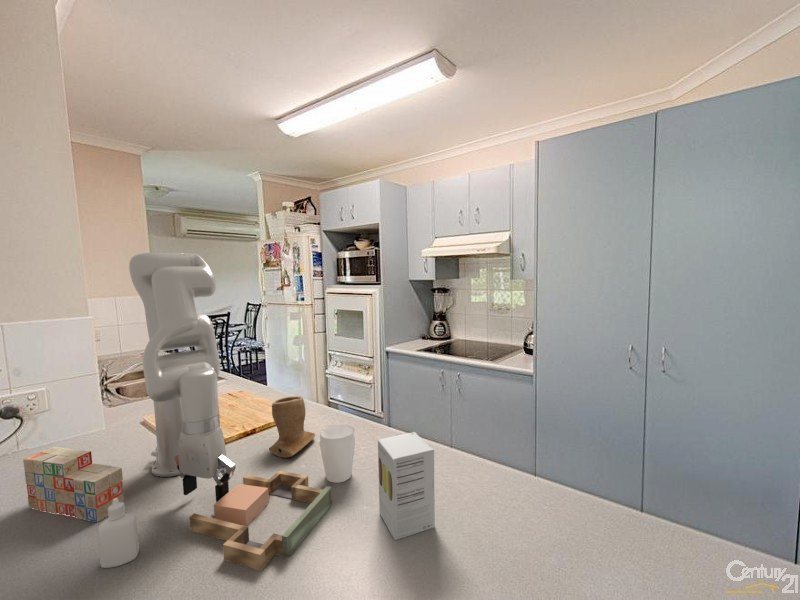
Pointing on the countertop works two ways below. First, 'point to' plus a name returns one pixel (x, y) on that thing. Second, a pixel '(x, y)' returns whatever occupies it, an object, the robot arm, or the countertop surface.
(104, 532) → the eye dropper bottle
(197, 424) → the robot arm
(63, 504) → the stack of blocks
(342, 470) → the cup
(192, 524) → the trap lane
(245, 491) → the block
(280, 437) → the stone cup
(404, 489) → the supplement box
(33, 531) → the countertop surface
